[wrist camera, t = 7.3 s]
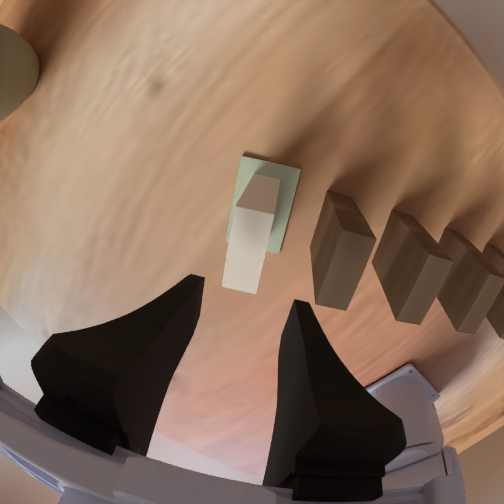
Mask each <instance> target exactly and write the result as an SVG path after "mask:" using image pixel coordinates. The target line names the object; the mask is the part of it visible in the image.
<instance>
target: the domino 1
mask: <svg viewBox="0 0 504 504" xmlns="http://www.w3.org/2000/svg"><path fill="white" fill-rule="evenodd" d="M279 185H280V179H276V178H272V177H267V176H262V175H258V174H253V176H252V178H251V179H250V181H249V183H248V185H247V186H246V188H245V190H244V192H243V193H242V195H241V197H240V198H239V200H238V202H237V204H236V206H235V210H234V215H233V221H232V227H231V233H230V239H229V245H228V251H227V257H226V263H225V269H224V275H223V281H222V287H227V288H231V289H235V290H240V291H244V292H248V293H253V294H256V292H257V287H258V283H259V279H260V275H261V271H262V266H263V262H264V258H265V254H266V249H267V245H268V241H269V236H270V232H271V228H272V224H273V219H274V215H275V209H276V203H277V197H278V191H279Z"/></svg>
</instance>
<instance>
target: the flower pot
mask: <svg viewBox="0 0 504 504" xmlns="http://www.w3.org/2000/svg"><path fill="white" fill-rule="evenodd" d="M39 71H40V63H39V58H38V56H37V54H36V52H35V51H34V49H33V48H32V47H31V45H30V44H29V43H28V42H27V41H26V40H25V39H24V38H23V37H22V36H21V35H19V34H18V33H17V32H15V31H14V30H12V29H10V28H8V27H6V26H4V25H1V24H0V122H1V121H2V120H3V119H5V118H6V117H7V116H9V115H10V114H11V113H12V112H13V111H15V110H16V109H17V108H18V107H19V106H20V105H21V104H22V103H23V102H24V101H25V100H26V99H27V98H28V97H29V96H30V94H31V93H32V92H33V90H34V88H35V86H36V84H37V81H38V77H39Z"/></svg>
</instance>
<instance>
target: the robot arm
mask: <svg viewBox="0 0 504 504" xmlns="http://www.w3.org/2000/svg"><path fill="white" fill-rule="evenodd" d="M204 281H205V277H201V276H197V275H193V274H190V275H188V276H187V277H185V278H184V279H183V280H181V281H180V282H179V283H177V284H176V285H175V286H173V287H172V288H170V289H169V290H168V291H166V292H165V293H163V294H162V295H160V296H159V297H157V298H156V299H154V300H152V301H151V302H149V303H147V304H146V305H144V306H142V307H141V308H139V309H137V310H135V311H133V312H131V313H129V314H127V315H124V316H122V317H119V318H117V319H114V320H111V321H109V322H106V323H103V324H100V325H96V326H93V327H89V328H85V329H81V330H76V331H70V332H64V333H57V334H53V335H52V336H51V337H50V338H49V339H48V340H47V341H46V342H45V343H44V345H43V346H42V347H41V348H40V350H39V351H38V352H37V353H36V355H35V356H34V357H33V359H32V360H31V367H32V370H33V373H34V375H35V377H36V380H37V381H38V384H39V386H40V387H41V389H42V391H43V393H44V395H43V396H42V398H41V399H40V401H39V402H38V404H37V405H36V404H35V403H33V402H31V401H30V400H28V399H27V398H25V397H24V396H22V395H20V394H19V393H17V392H16V391H14V390H13V389H12V388H10V387H9V386H7V385H6V384H5V383H3V380H2V378H1V376H0V452H1V453H2V454H3V455H5V456H6V457H7V458H8V459H10V460H11V461H12V462H14V463H15V464H16V465H17V466H19V467H20V468H21V469H23V470H24V471H26V472H27V473H28V474H30V475H31V476H33V477H34V478H36V479H37V480H39V481H40V482H42V483H43V484H45V485H46V486H48V487H49V488H51V489H53V490H54V491H56V492H58V493H59V494H61V495H62V496H61V498H60V501H59V503H58V504H467V503H466V498H465V494H466V491H465V485H464V480H463V475H462V471H461V467H460V463H459V459H458V456H457V452H456V449H455V448H453V447H450V446H449V445H448V446H445V447H444V448H443V444H444V436H443V432H442V429H441V425H440V422H439V418H438V415H437V411H436V408H435V405H434V401H435V400H437V399H438V398H439V397H440V395H439V393H438V392H437V391H436V390H435V389H434V388H433V387H432V385H431V384H430V383H429V382H428V381H427V380H426V379H425V378H424V377H423V376H422V375H421V373H420V372H419V371H418V370H417V369H416V368H415V367H414V366H413V365H412V364H406V365H405V366H403V367H402V368H400V369H398V370H397V371H395V372H393V373H392V374H390V375H388V376H387V377H385V378H383V379H382V380H380V381H378V382H376V383H375V384H373V385H371V386H369V387H367V388H366V389H365V388H364V387H363V386H362V385H361V384H360V383H359V382H358V381H357V380H356V379H355V378H354V376H353V375H352V374H351V373H350V372H349V370H348V369H347V368H346V366H345V365H344V364H343V363H342V361H341V360H340V358H339V357H338V356H337V354H336V353H335V351H334V349H333V348H332V346H331V345H330V343H329V341H328V339H327V337H326V336H325V334H324V332H323V330H322V328H321V326H320V324H319V322H318V320H317V318H316V316H315V314H314V312H313V310H312V308H311V305H310V304H309V302H305V301H300V300H296V299H294V302H293V305H292V307H291V310H290V313H289V316H288V319H287V321H286V324H285V327H284V330H283V333H282V335H281V342H280V348H279V355H278V392H277V409H276V416H275V423H274V429H273V435H272V441H271V446H270V451H269V457H268V461H267V466H266V471H265V475H264V480H263V484H262V485H255V484H250V483H246V482H240V481H235V480H230V479H225V478H220V477H216V476H212V475H207V474H203V473H199V472H195V471H192V470H188V469H184V468H181V467H177V466H174V465H171V464H167V463H164V462H161V461H158V460H154V459H151V458H148V457H146V455H147V451H148V448H149V444H150V441H151V437H152V434H153V431H154V428H155V424H156V421H157V418H158V415H159V412H160V409H161V406H162V403H163V400H164V397H165V395H166V392H167V389H168V386H169V383H170V381H171V379H172V376H173V374H174V372H175V370H176V368H177V366H178V364H179V362H180V360H181V358H182V356H183V354H184V352H185V350H186V348H187V346H188V344H189V342H190V340H191V338H192V336H193V334H194V331H195V328H196V325H197V322H198V319H199V317H200V310H201V303H202V295H203V288H204Z"/></svg>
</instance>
